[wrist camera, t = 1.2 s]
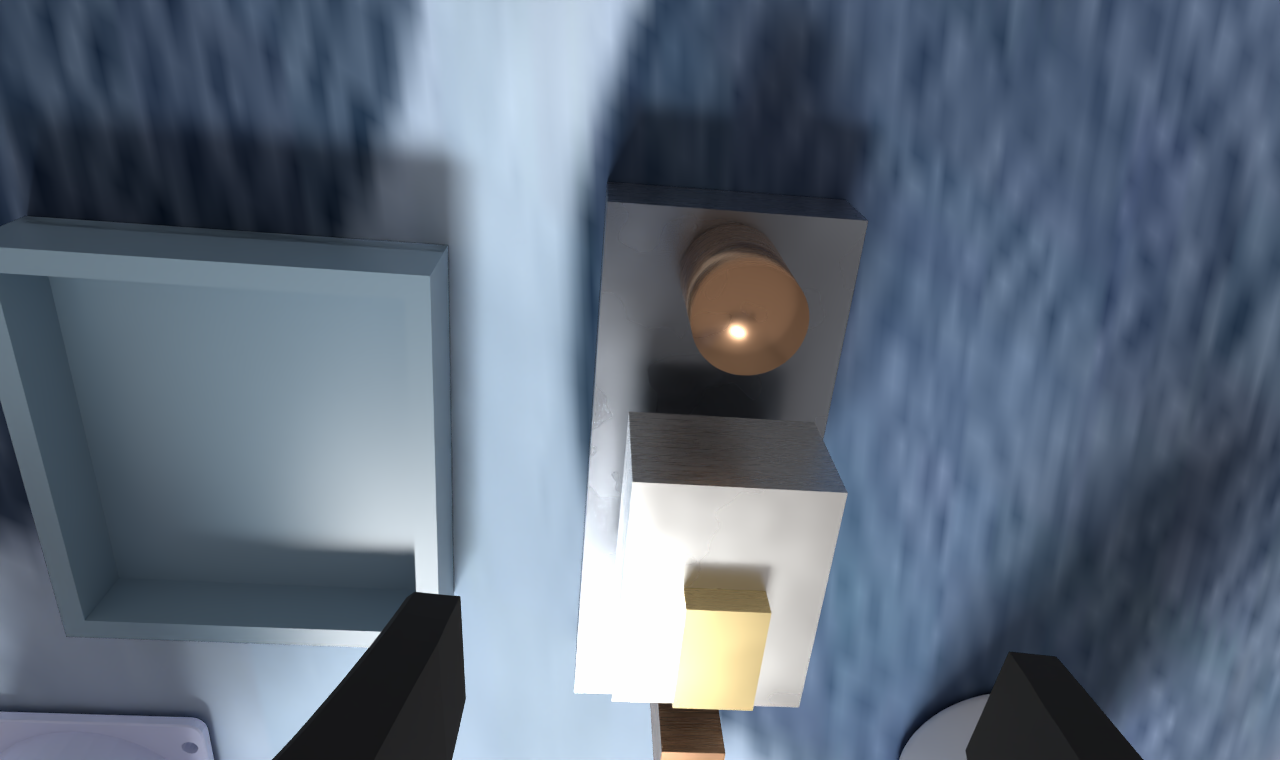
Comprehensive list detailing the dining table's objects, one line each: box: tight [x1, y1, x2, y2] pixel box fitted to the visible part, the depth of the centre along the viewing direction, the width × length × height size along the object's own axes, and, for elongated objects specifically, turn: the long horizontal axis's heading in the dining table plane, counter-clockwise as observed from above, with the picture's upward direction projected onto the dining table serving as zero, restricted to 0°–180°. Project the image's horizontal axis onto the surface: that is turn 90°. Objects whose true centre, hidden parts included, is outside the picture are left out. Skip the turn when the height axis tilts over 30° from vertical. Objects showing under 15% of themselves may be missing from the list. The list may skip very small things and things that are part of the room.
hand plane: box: [574, 182, 868, 760], centre depth 21 cm, size 15×6×6 cm, turn 175°
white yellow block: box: [611, 412, 847, 711], centre depth 19 cm, size 6×4×4 cm
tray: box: [0, 216, 454, 648], centre depth 22 cm, size 11×10×2 cm
